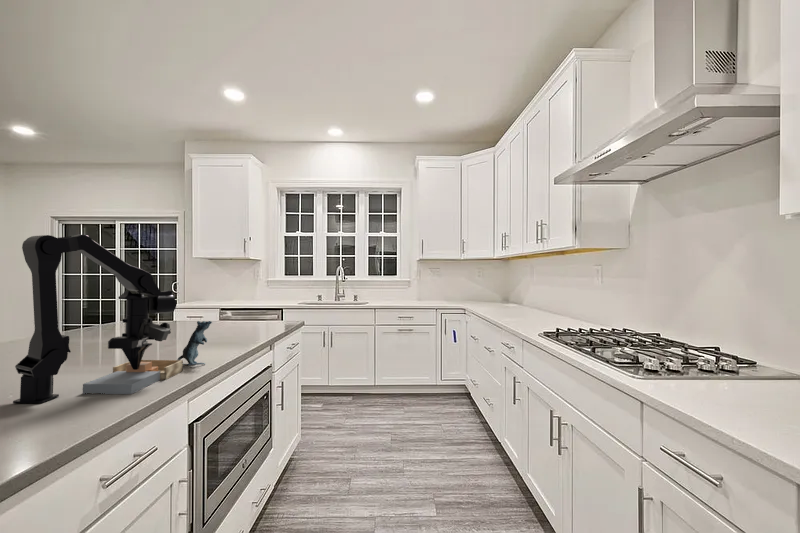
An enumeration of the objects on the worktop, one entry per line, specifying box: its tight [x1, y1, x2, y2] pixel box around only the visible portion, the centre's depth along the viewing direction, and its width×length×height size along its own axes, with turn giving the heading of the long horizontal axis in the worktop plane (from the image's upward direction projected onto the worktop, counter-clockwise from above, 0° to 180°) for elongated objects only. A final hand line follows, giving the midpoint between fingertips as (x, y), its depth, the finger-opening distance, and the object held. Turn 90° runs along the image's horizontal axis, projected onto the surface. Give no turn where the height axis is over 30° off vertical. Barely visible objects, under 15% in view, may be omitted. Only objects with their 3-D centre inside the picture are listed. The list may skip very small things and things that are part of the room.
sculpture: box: [176, 320, 213, 367], centre depth 156 cm, size 8×11×15 cm
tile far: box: [148, 367, 158, 371], centre depth 136 cm, size 5×5×2 cm
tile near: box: [126, 362, 152, 372], centre depth 133 cm, size 5×5×2 cm
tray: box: [112, 359, 184, 381], centre depth 138 cm, size 12×15×4 cm
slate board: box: [82, 371, 160, 395], centre depth 124 cm, size 16×12×2 cm
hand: (135, 369), depth 130 cm, fingers closed
